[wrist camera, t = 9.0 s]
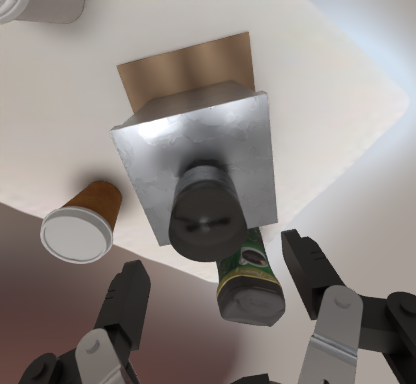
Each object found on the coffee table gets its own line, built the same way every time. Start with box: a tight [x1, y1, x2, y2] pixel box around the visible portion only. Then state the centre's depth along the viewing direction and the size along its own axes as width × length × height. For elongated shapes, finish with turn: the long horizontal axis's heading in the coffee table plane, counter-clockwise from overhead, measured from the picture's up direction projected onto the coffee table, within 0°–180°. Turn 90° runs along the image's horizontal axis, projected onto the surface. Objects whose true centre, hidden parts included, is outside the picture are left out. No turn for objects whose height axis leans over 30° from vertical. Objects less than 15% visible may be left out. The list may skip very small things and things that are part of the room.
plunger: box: [168, 166, 248, 262], centre depth 23 cm, size 8×8×20 cm
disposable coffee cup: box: [40, 181, 122, 264], centre depth 37 cm, size 10×10×12 cm
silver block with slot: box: [109, 79, 278, 246], centre depth 29 cm, size 12×15×18 cm
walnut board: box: [117, 32, 255, 114], centre depth 36 cm, size 18×22×1 cm
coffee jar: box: [216, 227, 285, 327], centre depth 39 cm, size 10×8×19 cm
